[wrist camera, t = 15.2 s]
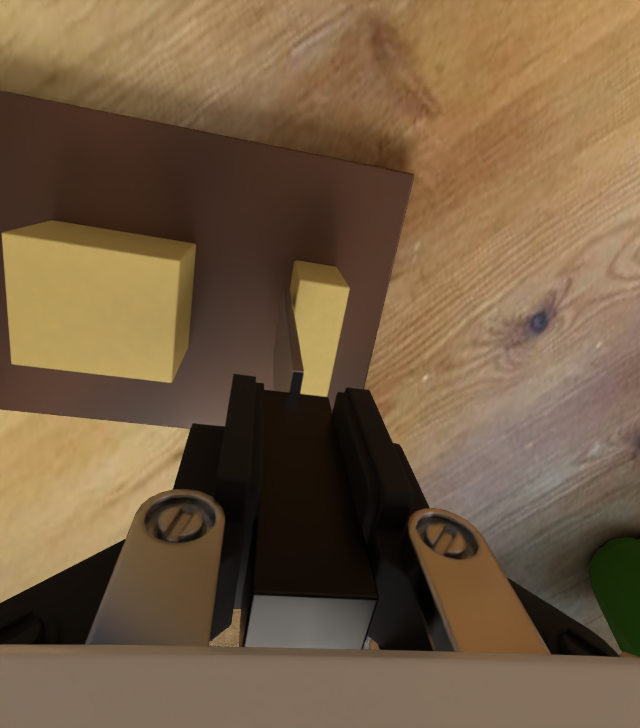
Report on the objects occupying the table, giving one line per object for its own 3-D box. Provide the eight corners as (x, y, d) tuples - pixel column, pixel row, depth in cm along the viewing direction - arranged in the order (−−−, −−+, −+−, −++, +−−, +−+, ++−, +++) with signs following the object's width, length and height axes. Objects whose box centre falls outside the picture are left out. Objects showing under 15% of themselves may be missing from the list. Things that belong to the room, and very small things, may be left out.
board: (-35, 390, 24) (-53, 404, 22) (-72, 77, 18) (-99, 70, 17) (346, 431, 27) (350, 445, 25) (406, 173, 22) (415, 174, 20)
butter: (55, 331, 21) (10, 365, 18) (51, 219, 20) (0, 231, 16) (188, 348, 22) (172, 383, 19) (196, 243, 20) (180, 260, 17)
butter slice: (278, 359, 23) (279, 396, 19) (294, 259, 21) (299, 278, 17) (317, 364, 23) (326, 401, 20) (337, 266, 21) (350, 287, 18)
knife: (255, 353, 20) (231, 705, 7) (264, 285, 19) (256, 558, 6) (297, 358, 20) (346, 704, 7) (308, 291, 19) (390, 566, 6)
